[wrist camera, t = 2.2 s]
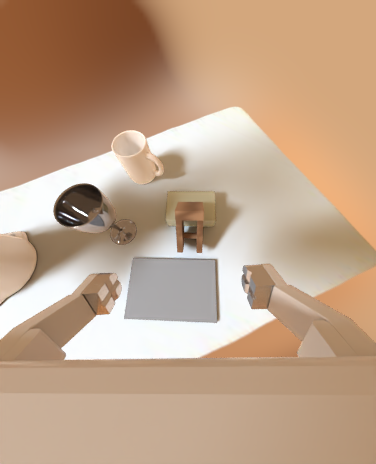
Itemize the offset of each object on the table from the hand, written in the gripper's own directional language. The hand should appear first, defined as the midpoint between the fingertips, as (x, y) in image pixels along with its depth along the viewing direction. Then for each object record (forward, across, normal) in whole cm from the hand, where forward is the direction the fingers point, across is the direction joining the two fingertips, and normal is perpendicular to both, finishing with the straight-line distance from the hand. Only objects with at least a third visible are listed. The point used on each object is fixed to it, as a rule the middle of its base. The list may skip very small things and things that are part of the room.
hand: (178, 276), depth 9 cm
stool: (+25, 0, +10) cm, 27 cm away
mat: (+16, +5, +19) cm, 25 cm away
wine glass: (+26, +18, +8) cm, 33 cm away
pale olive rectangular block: (+29, 0, +6) cm, 30 cm away
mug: (+38, +12, -4) cm, 40 cm away
